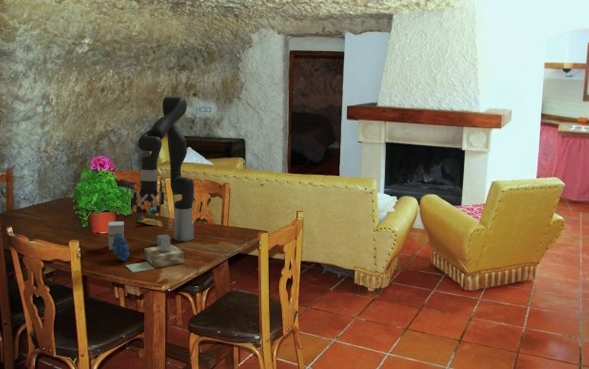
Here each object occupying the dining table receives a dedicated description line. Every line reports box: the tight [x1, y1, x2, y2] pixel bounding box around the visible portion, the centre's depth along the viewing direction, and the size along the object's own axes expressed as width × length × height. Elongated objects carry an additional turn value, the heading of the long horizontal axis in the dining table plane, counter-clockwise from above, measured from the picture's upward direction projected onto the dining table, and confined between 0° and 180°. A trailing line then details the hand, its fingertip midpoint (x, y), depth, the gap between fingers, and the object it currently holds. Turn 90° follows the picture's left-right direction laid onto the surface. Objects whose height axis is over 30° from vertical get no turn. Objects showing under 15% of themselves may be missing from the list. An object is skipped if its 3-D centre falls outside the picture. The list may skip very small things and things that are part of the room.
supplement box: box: [107, 221, 125, 251], centre depth 293 cm, size 7×7×13 cm
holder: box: [143, 244, 185, 268], centre depth 276 cm, size 14×14×5 cm
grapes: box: [112, 235, 130, 262], centre depth 274 cm, size 12×7×12 cm, turn 50°
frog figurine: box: [137, 200, 163, 227], centre depth 338 cm, size 10×18×15 cm, turn 55°
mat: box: [125, 261, 156, 274], centre depth 266 cm, size 10×10×1 cm
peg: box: [156, 234, 171, 253], centre depth 276 cm, size 4×4×12 cm
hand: (147, 213), depth 273 cm, fingers open, 8 cm apart
